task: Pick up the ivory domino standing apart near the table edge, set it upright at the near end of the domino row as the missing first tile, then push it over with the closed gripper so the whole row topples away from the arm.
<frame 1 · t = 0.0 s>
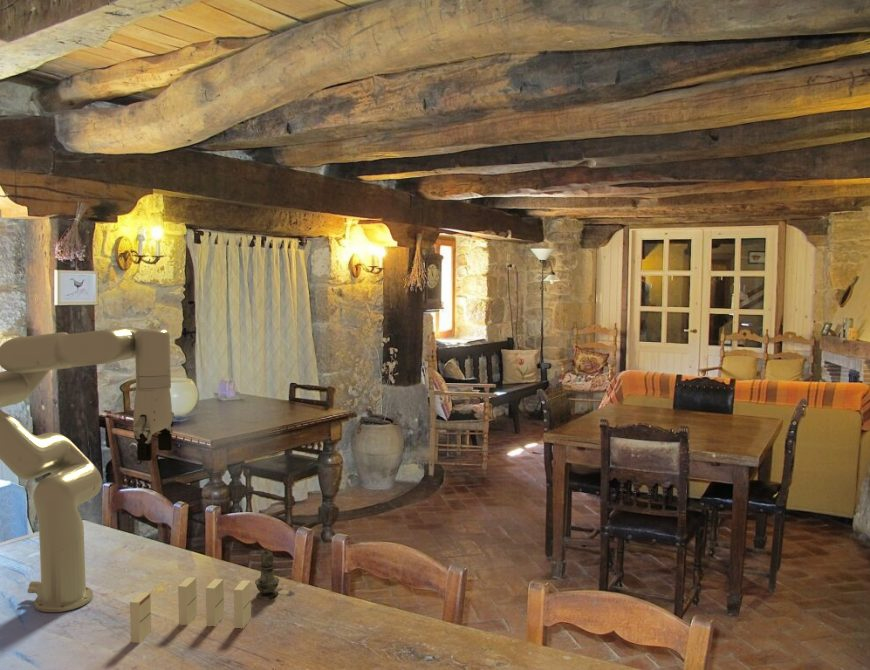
hand: (155, 455, 173), 37 cm above the table, tool pointing down, fingers open, 9 cm apart
dark chess piece: (267, 595, 183), on the table
domino 2: (188, 619, 170), on the table
domino 4: (242, 623, 168), on the table
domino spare: (141, 637, 162), on the table
domino 3: (215, 621, 169), on the table
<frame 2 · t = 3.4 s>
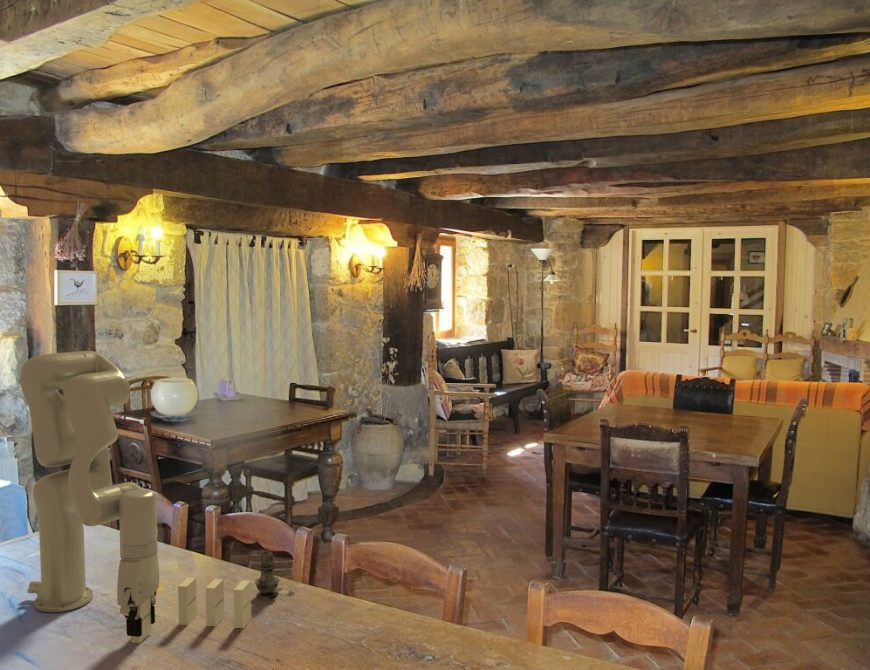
hand: (141, 628, 161), 2 cm above the table, tool pointing down, fingers closed on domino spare, 4 cm apart
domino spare: (141, 637, 162), on the table, touching gripper
everything else where it was.
when the fingers open (3 cm above the table, at t = 7.9 s): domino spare stays where it is, on the table.
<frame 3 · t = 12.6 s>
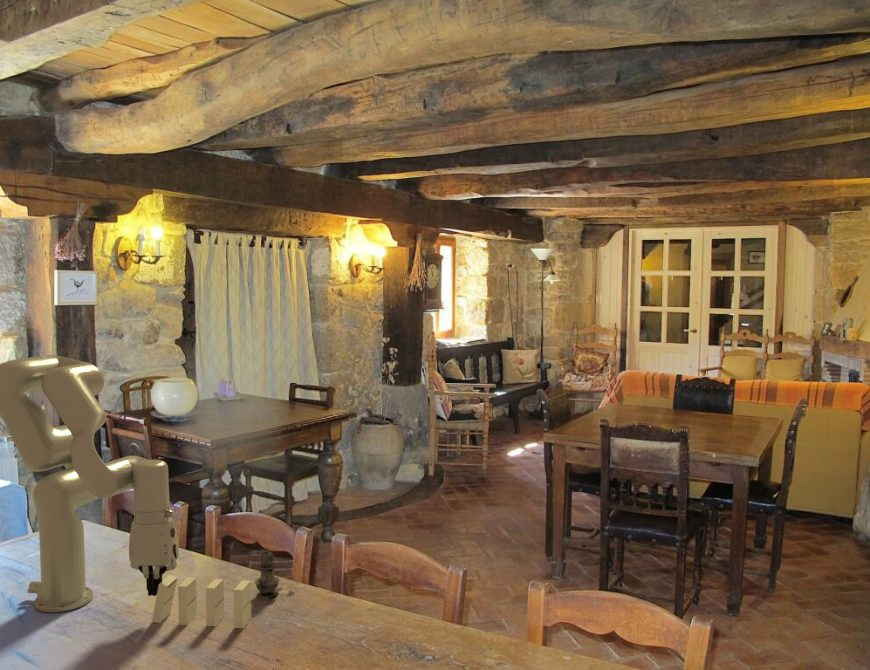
hand: (154, 593, 170), 6 cm above the table, tool pointing down, fingers closed
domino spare: (161, 617, 171), on the table, tilted 12°
everything else where it was.
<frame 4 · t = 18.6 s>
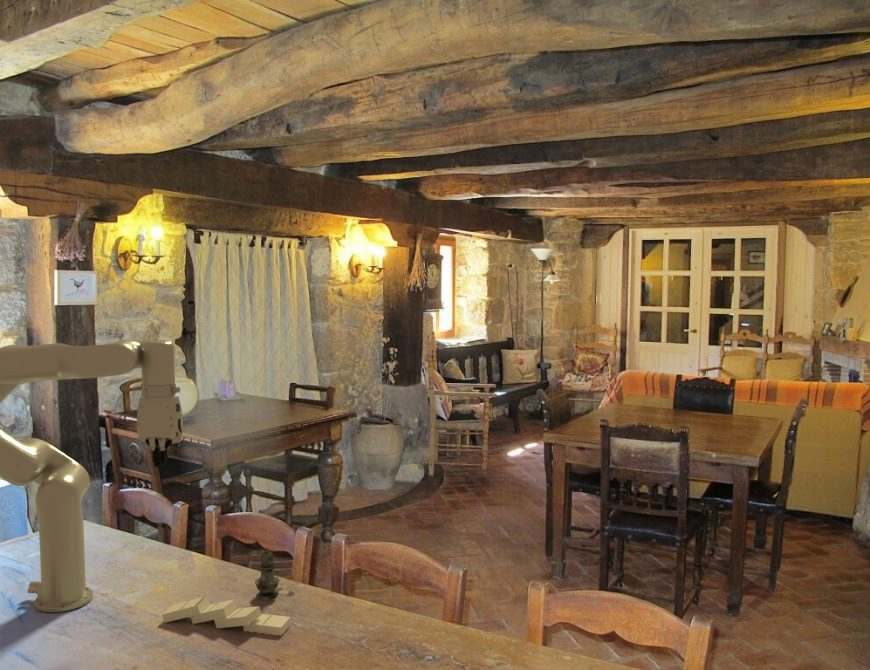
hand: (160, 465, 181), 32 cm above the table, tool pointing down, fingers closed
domino 2: (198, 615, 170), point 1 cm above the table, tilted 71°, touching domino 3
domino 4: (248, 622, 167), point 1 cm above the table, tilted 90°, touching domino 3
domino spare: (168, 613, 171), point 1 cm above the table, tilted 72°
domino 3: (222, 618, 168), point 1 cm above the table, tilted 74°, touching domino 2, domino 4
everything else where it was.
at the end: domino 4 tilted 89°; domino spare inside the target area (0.9 cm from its centre), point 1.0 cm above the table; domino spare tilted 72° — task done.
